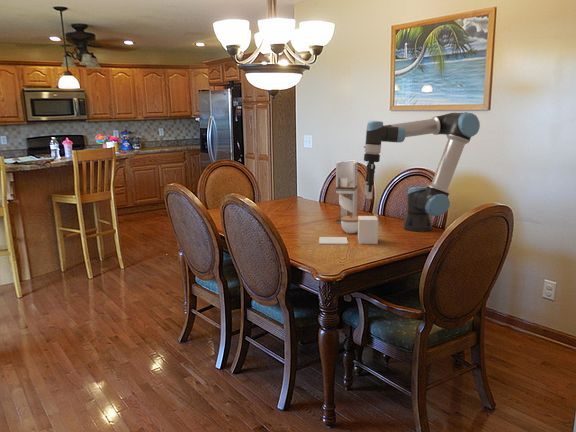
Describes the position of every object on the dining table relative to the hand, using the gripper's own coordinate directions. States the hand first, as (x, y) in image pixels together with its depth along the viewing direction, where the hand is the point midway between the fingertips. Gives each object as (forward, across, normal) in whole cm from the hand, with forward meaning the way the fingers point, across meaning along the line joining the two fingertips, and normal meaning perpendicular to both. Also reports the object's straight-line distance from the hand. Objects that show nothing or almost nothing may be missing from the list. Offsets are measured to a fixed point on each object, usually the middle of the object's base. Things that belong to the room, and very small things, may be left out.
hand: (368, 196), depth 232 cm
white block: (+22, +2, +2) cm, 22 cm away
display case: (+22, -42, -8) cm, 48 cm away
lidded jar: (+22, -17, -6) cm, 29 cm away
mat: (+24, +2, -15) cm, 28 cm away
